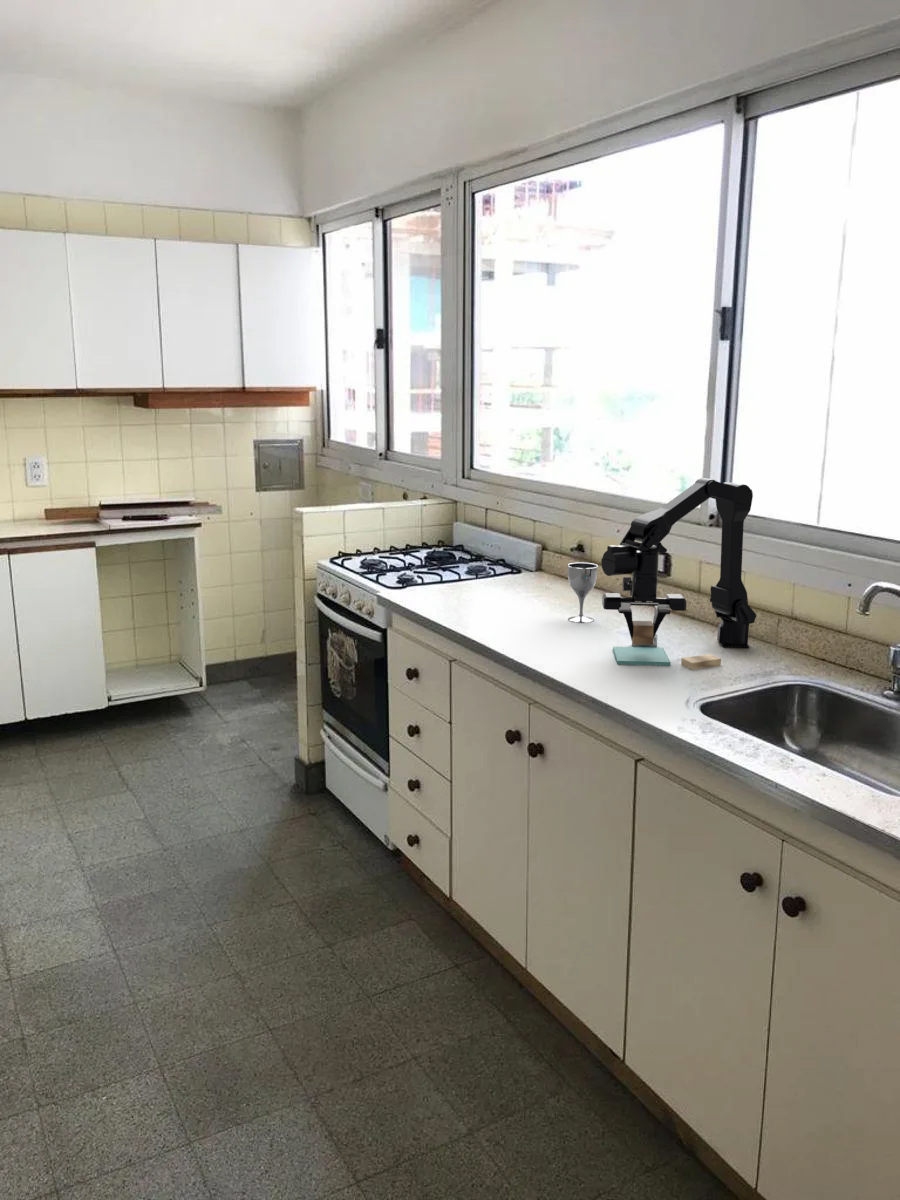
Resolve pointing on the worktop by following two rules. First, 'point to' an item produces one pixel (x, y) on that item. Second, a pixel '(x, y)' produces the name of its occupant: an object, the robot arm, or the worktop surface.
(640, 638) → the walnut block
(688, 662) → the beech slab
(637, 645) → the metal tin
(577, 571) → the wine glass
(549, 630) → the worktop surface
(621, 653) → the plate
